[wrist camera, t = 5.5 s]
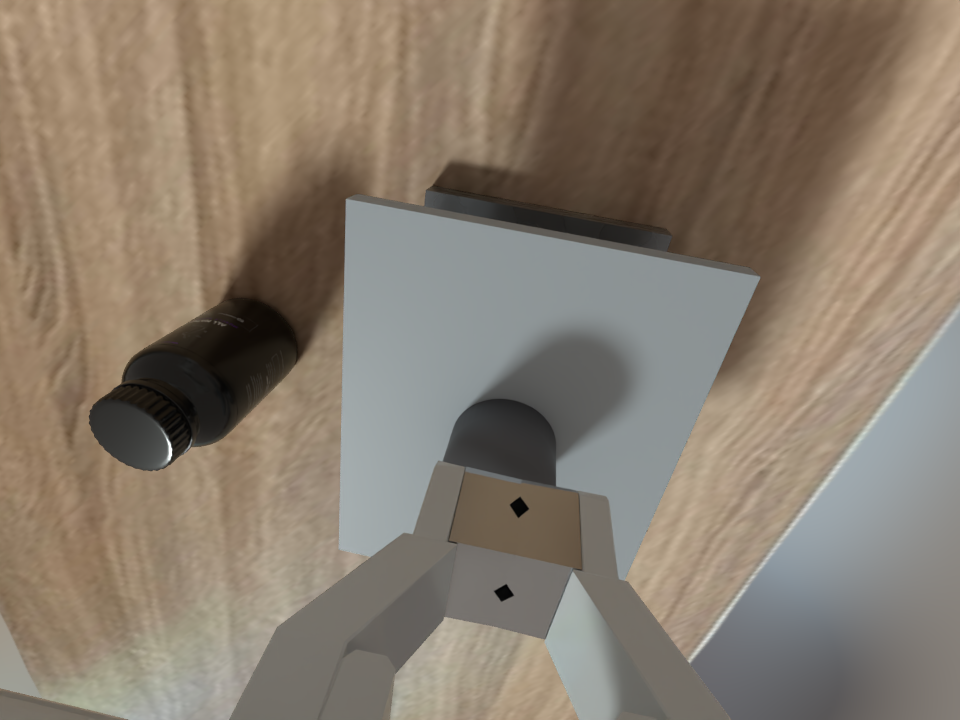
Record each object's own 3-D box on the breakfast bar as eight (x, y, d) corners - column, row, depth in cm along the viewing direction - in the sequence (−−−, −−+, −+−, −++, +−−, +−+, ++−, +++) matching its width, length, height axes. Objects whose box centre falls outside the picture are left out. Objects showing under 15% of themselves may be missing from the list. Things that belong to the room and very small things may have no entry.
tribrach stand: (432, 185, 29) (385, 218, 21) (666, 229, 28) (708, 279, 21) (408, 426, 38) (369, 511, 30) (587, 463, 37) (595, 561, 29)
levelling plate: (362, 191, 21) (298, 220, 15) (744, 262, 20) (809, 318, 15) (350, 526, 30) (308, 612, 25) (607, 583, 29) (618, 684, 24)
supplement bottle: (248, 276, 34) (108, 356, 23) (318, 349, 36) (219, 453, 25) (194, 328, 36) (46, 421, 26) (262, 393, 38) (151, 504, 28)
